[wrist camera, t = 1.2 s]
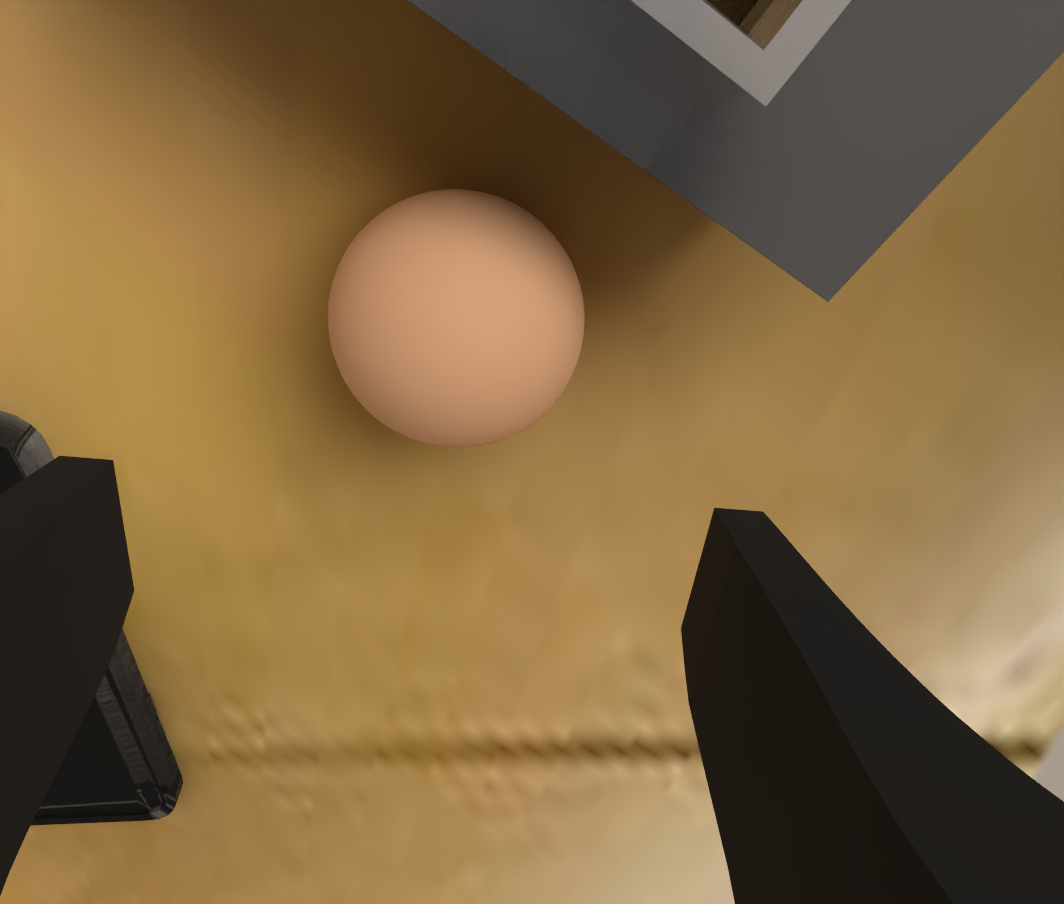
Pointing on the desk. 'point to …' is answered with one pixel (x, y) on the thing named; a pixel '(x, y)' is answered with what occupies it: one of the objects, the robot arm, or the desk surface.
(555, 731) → the desk surface
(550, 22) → the grey box with opening
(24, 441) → the phone
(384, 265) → the bead
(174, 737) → the desk surface
